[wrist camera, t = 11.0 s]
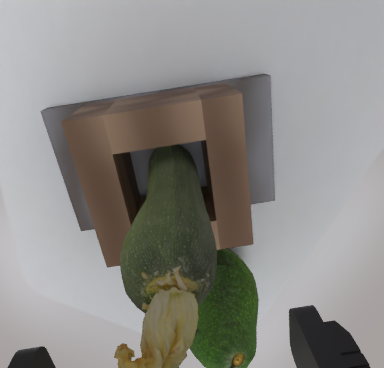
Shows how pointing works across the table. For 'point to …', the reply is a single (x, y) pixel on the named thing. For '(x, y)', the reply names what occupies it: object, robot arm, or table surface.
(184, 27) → the table surface
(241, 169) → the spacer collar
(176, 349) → the vegetable
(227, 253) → the avocado
